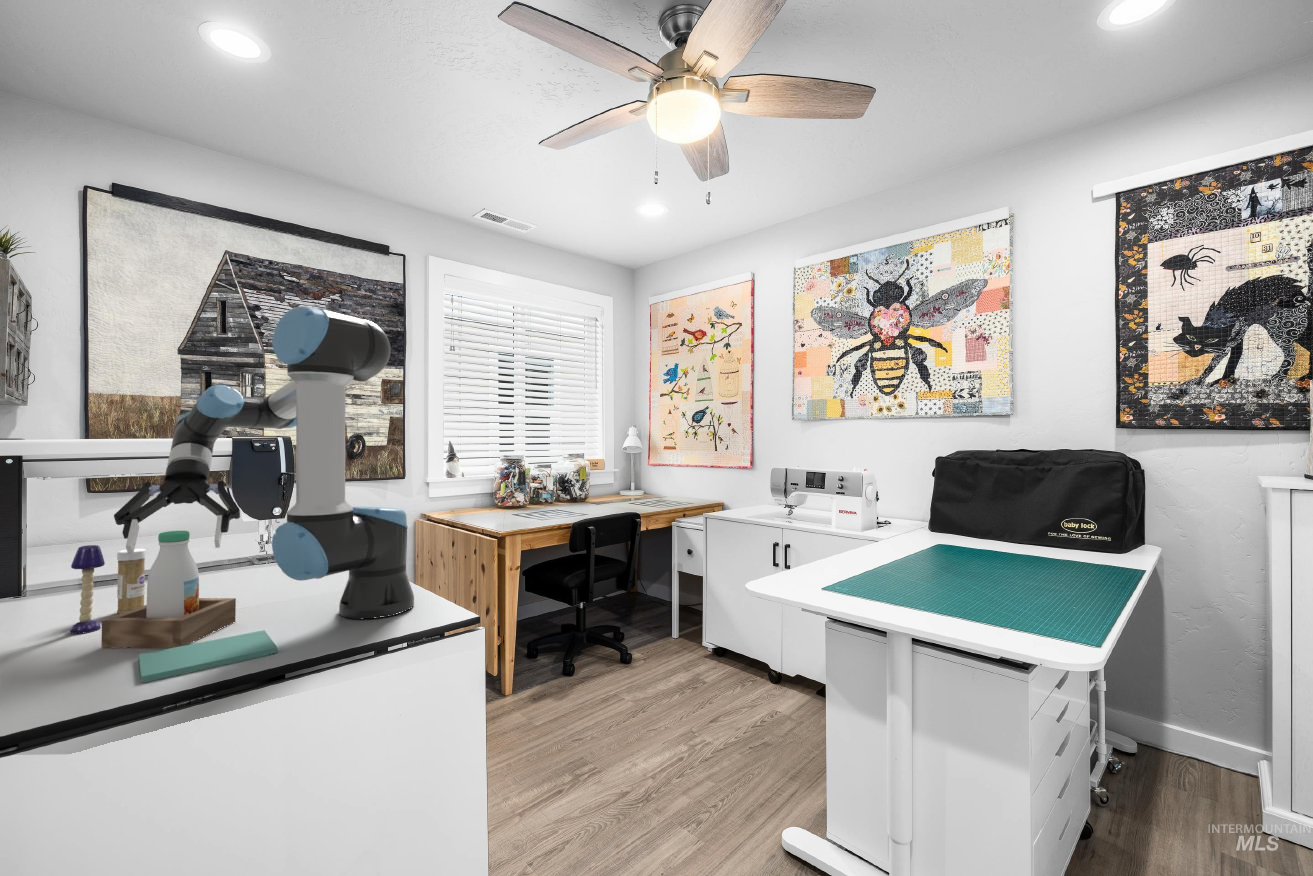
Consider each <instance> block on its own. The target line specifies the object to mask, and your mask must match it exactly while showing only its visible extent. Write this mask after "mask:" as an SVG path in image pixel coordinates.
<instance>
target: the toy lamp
mask: <svg viewBox="0 0 1313 876" xmlns="http://www.w3.org/2000/svg"><path fill="white" fill-rule="evenodd" d="M104 566H105V559H104V556H103V553H102V550H101V547H100V545H95V544H94V545H93V544H89V545H82V546H79V547H78V549H77V550H76V552H75V555H74V557H73V560H72V562H71V567H70V568H71V569H73V570H81V574H82V577H81V582H82V583H81V586H80V587H81V593H80V598H81V599H80V603H79V604H80V607H79V614H80V615H79V618H78V620H79V621H77V622H76V623H74V624H72V627H70V630H69V633H70V632H71V633H70V634H72V633H82V634H84V633H83V632H88V633H91V632H90V631H92V632H96V631H98V630H100V629H102V626H101V624H100V622H99V621H97V620H95V619H92V611H93V606H92V604H93V601H94V599H93V598H92V597H93V596H94V590H93V589H94V580H95V576H94V573H95V569H96V568H102V567H104ZM95 630H96V631H95Z"/></svg>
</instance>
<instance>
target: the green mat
mask: <svg viewBox="0 0 1313 876" xmlns="http://www.w3.org/2000/svg"><path fill="white" fill-rule="evenodd" d="M278 648H279V647H278V646H277V645H276V643H275V642H274V640H273V639H272V638H271V637H270V635H268V633H267V632H266V630H265V629H263V630H258V631H253V632H248V633H244V634H237V635H231V636H227V637H223V638H217V639H212V640H207V641H206V640H205V641H201V642H196V643H195V642H194V643H190V644H188V645H185V646H180V647H175V648H163V649H160V650H159V649H158V650H154V651H150V652H145V653H139V654H138V663H139V664H138V665H139V672H140V679H141V684H143V683H147V682H148V683H149V682H152V681H157V680H162V679H166V678H170V677H175V676H179V675H184V674H188V673H193V672H197V671H202V670H207V669H211V668H216V667H220V666H225V665H229V664H235V663H238V662H239V663H240V662H243V661H244V662H245V661H247V660H252V659H256V658H262V657H266V656H269V654H271V655H273V654H272V653H275V654H277V653H278ZM276 652H277V653H276ZM265 655H266V656H265Z"/></svg>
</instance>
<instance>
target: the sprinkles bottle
mask: <svg viewBox="0 0 1313 876" xmlns="http://www.w3.org/2000/svg"><path fill="white" fill-rule="evenodd" d="M146 551H147V550H146V549H145V548H135V549H134V553H133V554H128V552H127V549H122V550H119V551H117V555H116V560H117V584H116V585H117V586H116V587H117V596H116V597H117V610H116V613H117V614H118V615H119V614H122V613H125V612H128V611H130V610H133V609H136V608H139V607H142V606H145V594H146V593H145V592H146V591H145V589H146V587H145V586H146V582H145V581H146V579H145V578H146V577H145V576H146V575H145V560H146V557H147V555H146V554H147V552H146Z"/></svg>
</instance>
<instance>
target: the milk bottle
mask: <svg viewBox="0 0 1313 876" xmlns="http://www.w3.org/2000/svg"><path fill="white" fill-rule="evenodd" d="M189 542H190V531H189V530H171V531H170V530H169V531H164V532H160V533H159V534H158V546H159V550H158V553H157V557H156V558H155V560H154V562H153V563H152V565H151V567H150V569H149V572H148V574H147V575H148V576H147V583H146V584H147V585H146V605H147V613H146V618H181V617H183V616H186V615H188V614H191V613H193V612H196V611H198V610H199V598H200V574H199V569H198V565H197V563H196V560H195V559H194V557H193V556H192V554H191V552H190V549H189V545H188V544H189Z"/></svg>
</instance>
